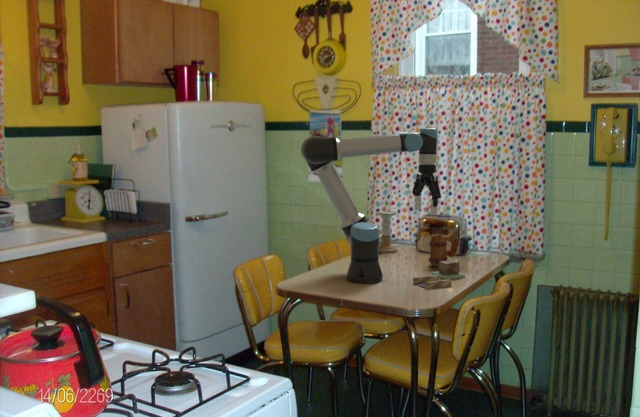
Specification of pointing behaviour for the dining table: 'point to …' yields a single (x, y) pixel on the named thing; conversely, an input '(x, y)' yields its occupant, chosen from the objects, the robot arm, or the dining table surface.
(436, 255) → the mug
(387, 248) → the candle holder
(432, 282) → the channel
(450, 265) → the block
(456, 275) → the plate
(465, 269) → the dining table surface
